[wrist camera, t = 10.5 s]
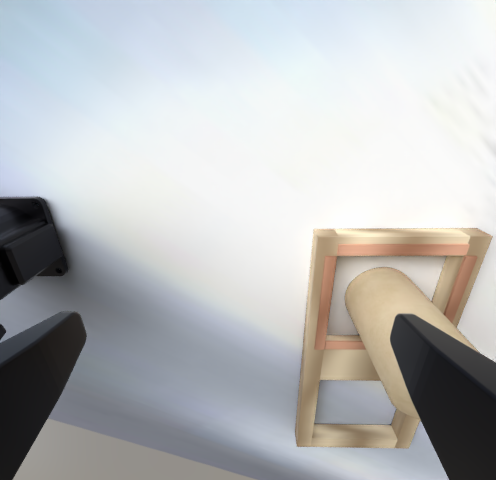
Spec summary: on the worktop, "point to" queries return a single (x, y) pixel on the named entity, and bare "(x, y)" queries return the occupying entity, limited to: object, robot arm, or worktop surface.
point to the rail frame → (351, 346)
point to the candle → (391, 323)
